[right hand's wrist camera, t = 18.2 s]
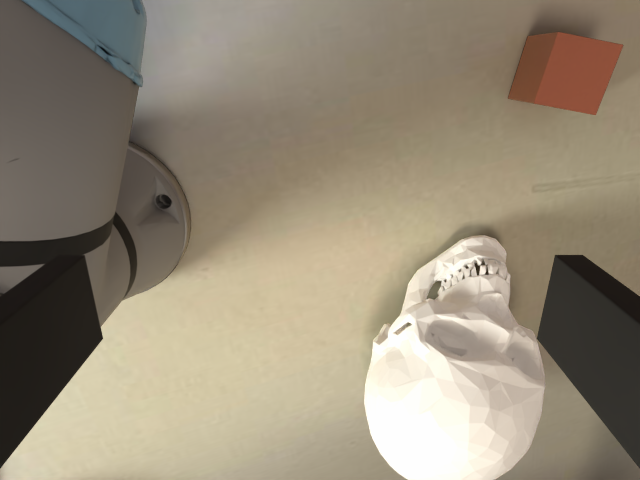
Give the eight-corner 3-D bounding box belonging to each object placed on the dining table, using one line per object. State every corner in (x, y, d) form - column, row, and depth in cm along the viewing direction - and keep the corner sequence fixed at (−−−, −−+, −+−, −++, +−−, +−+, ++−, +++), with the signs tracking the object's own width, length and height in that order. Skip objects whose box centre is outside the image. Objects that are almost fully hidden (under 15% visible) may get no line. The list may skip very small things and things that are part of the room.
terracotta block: (562, 109, 38) (596, 115, 34) (507, 98, 38) (533, 103, 33) (585, 47, 36) (623, 44, 32) (527, 35, 36) (558, 31, 31)
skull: (541, 243, 43) (650, 335, 28) (457, 414, 51) (508, 556, 36) (410, 208, 42) (451, 284, 27) (346, 387, 50) (351, 522, 35)
